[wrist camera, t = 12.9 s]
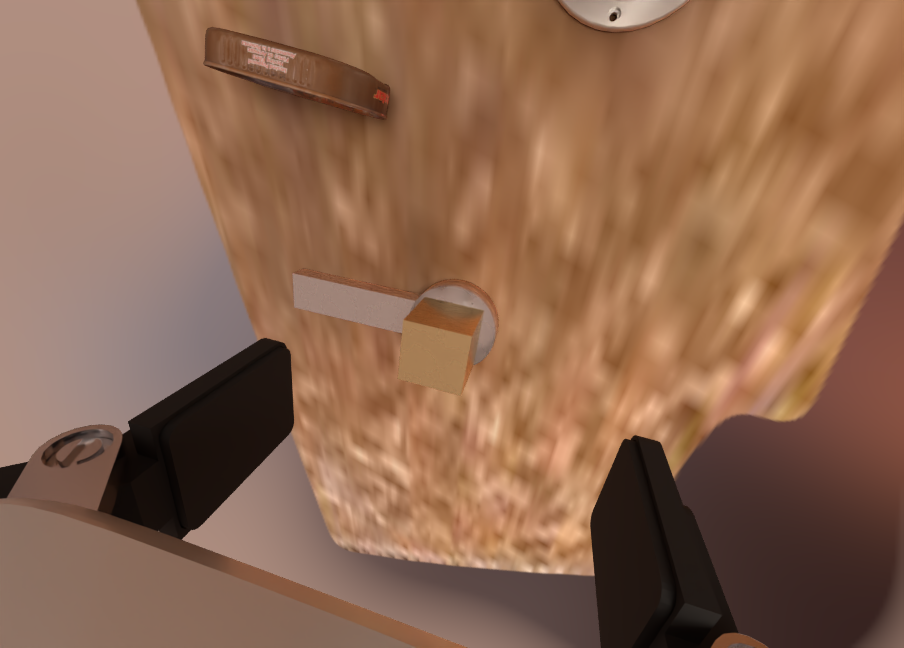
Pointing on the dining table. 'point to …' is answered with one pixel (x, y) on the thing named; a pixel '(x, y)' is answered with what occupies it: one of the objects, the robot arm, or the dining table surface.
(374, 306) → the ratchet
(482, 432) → the dining table surface
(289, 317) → the dining table surface
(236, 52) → the tin
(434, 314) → the tan wooden cube
